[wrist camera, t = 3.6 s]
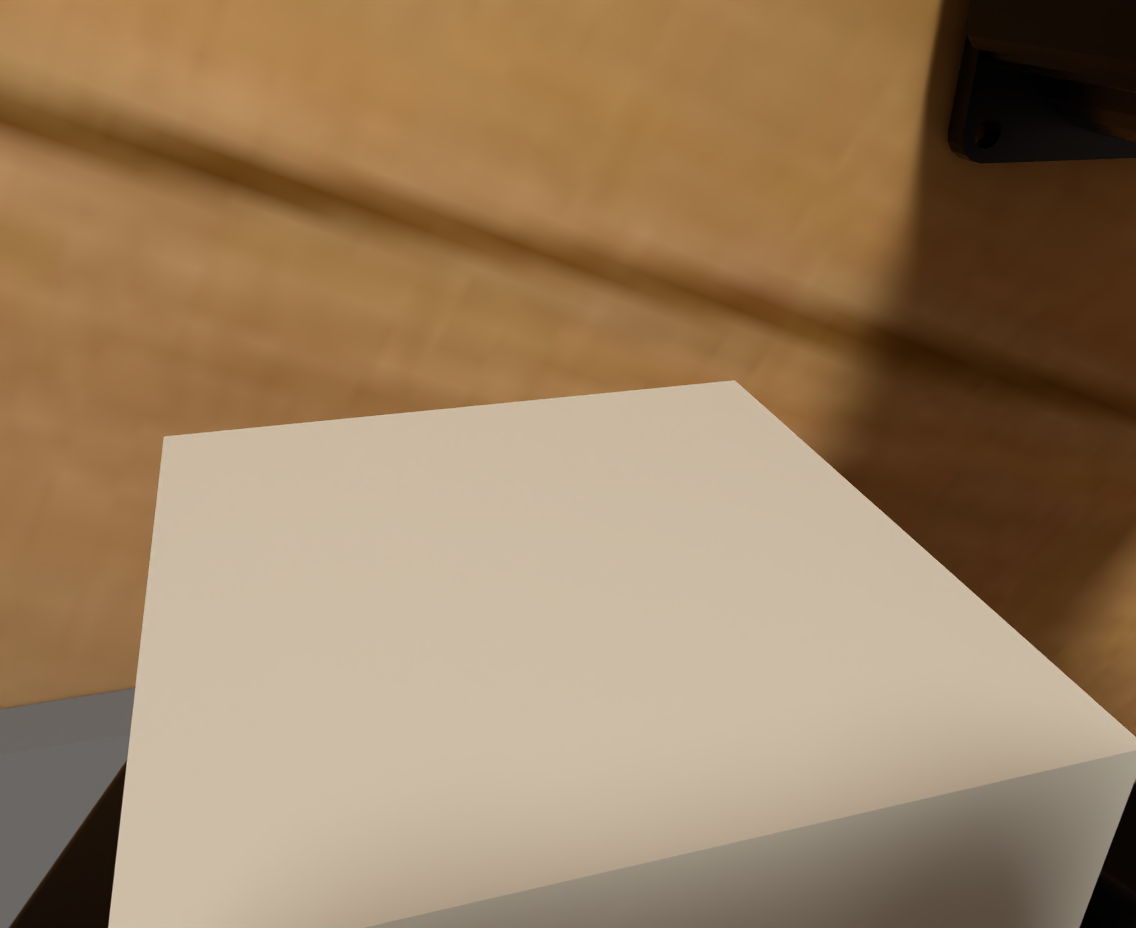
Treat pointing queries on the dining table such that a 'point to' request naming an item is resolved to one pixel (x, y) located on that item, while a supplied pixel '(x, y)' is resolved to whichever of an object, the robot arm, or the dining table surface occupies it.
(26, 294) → the dining table surface
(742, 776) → the cream block
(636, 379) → the dining table surface
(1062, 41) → the robot arm
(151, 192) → the dining table surface
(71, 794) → the slate board
